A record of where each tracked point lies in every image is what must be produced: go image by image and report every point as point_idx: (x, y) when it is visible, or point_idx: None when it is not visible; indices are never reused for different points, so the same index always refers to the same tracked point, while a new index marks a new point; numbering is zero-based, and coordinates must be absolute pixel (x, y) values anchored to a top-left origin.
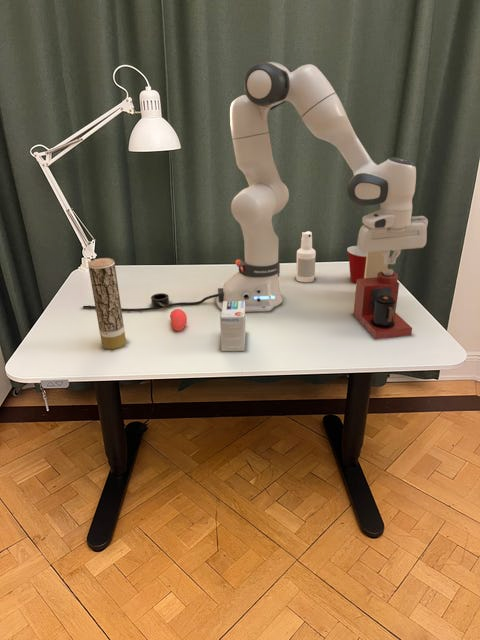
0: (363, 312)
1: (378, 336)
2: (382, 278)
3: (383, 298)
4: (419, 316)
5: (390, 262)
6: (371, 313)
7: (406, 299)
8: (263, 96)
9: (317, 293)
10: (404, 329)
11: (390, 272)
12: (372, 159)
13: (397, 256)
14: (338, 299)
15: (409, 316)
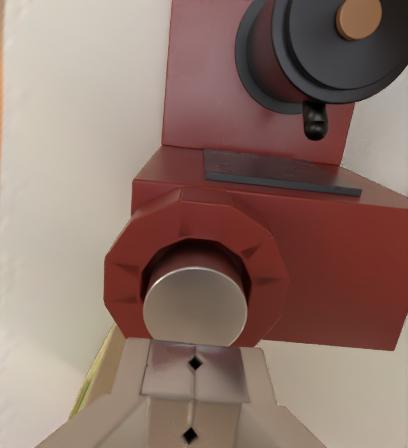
0: (338, 168)
1: None
2: (277, 246)
3: (379, 17)
4: (34, 133)
5: (203, 357)
6: None
7: (11, 299)
8: None
9: (324, 436)
10: None
11: (201, 266)
12: None
13: (79, 419)
14: (281, 375)
15: (80, 148)
